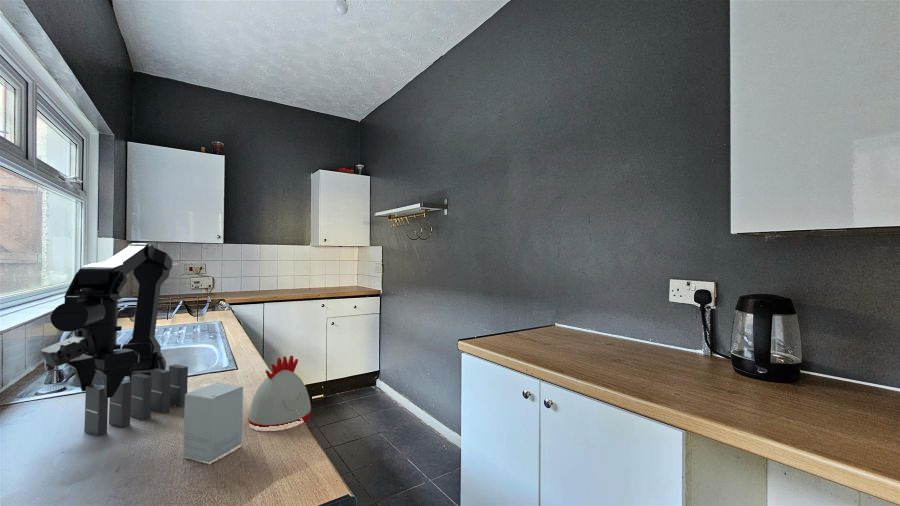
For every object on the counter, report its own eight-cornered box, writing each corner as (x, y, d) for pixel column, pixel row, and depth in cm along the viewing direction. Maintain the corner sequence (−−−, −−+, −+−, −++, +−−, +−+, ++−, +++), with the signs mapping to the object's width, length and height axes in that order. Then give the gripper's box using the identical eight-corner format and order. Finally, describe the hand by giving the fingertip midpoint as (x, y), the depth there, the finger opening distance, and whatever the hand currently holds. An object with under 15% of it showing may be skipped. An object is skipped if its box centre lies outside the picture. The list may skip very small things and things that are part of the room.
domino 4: (157, 407, 94) (158, 368, 94) (169, 411, 92) (170, 371, 92) (149, 410, 92) (150, 370, 92) (162, 413, 91) (163, 373, 91)
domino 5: (174, 401, 98) (175, 364, 98) (187, 404, 96) (188, 366, 96) (167, 404, 96) (168, 365, 96) (180, 407, 94) (181, 368, 95)
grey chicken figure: (322, 415, 92) (324, 355, 92) (270, 438, 80) (272, 369, 80) (288, 402, 99) (290, 347, 99) (236, 421, 87) (238, 358, 88)
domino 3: (138, 414, 90) (139, 373, 90) (150, 417, 88) (152, 376, 88) (129, 416, 88) (131, 375, 89) (142, 420, 87) (144, 378, 87)
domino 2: (117, 420, 86) (118, 378, 86) (130, 425, 84) (131, 381, 84) (108, 424, 85) (109, 380, 85) (121, 428, 83) (122, 383, 83)
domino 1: (93, 428, 82) (95, 383, 82) (107, 433, 80) (108, 387, 80) (83, 432, 81) (85, 386, 81) (97, 436, 79) (99, 389, 79)
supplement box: (243, 447, 76) (244, 386, 76) (209, 466, 69) (211, 398, 69) (216, 440, 78) (218, 381, 78) (181, 458, 71) (183, 393, 71)
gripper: (25, 325, 77) (22, 400, 76) (74, 333, 70) (71, 416, 70) (93, 317, 87) (90, 383, 87) (142, 324, 80) (139, 396, 80)
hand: (97, 394), depth 80 cm, fingers open, 9 cm apart
